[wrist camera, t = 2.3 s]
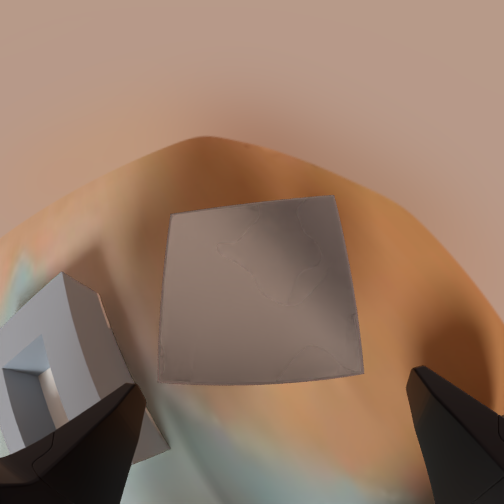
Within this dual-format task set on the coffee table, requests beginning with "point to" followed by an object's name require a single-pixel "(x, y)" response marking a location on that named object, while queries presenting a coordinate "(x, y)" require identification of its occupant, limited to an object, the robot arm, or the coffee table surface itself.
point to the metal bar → (258, 296)
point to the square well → (61, 366)
